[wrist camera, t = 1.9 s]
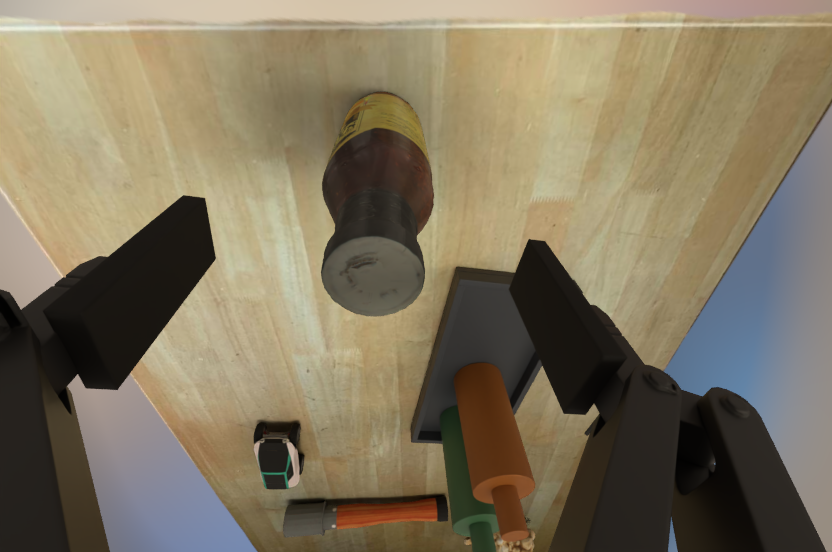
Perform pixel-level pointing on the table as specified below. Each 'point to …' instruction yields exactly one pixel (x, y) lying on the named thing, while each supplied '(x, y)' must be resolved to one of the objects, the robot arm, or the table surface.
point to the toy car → (278, 457)
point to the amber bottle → (493, 447)
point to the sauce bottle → (377, 207)
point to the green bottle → (465, 488)
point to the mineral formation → (510, 543)
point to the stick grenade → (359, 515)
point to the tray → (475, 346)
